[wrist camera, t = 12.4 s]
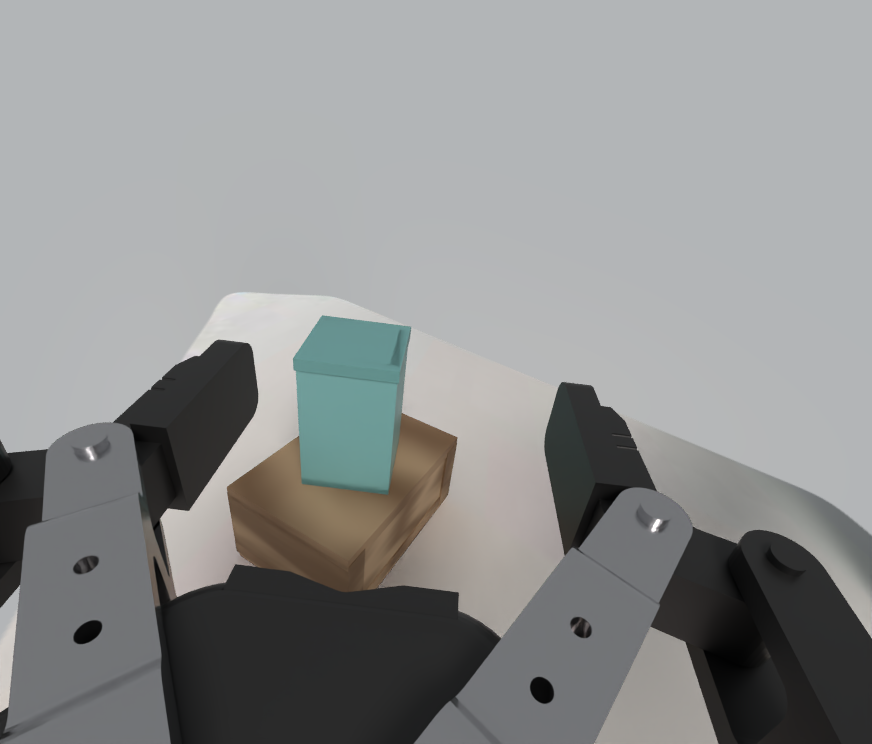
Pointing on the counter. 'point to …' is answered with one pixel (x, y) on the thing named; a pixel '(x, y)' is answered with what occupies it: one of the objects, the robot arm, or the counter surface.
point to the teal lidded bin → (350, 403)
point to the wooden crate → (340, 512)
